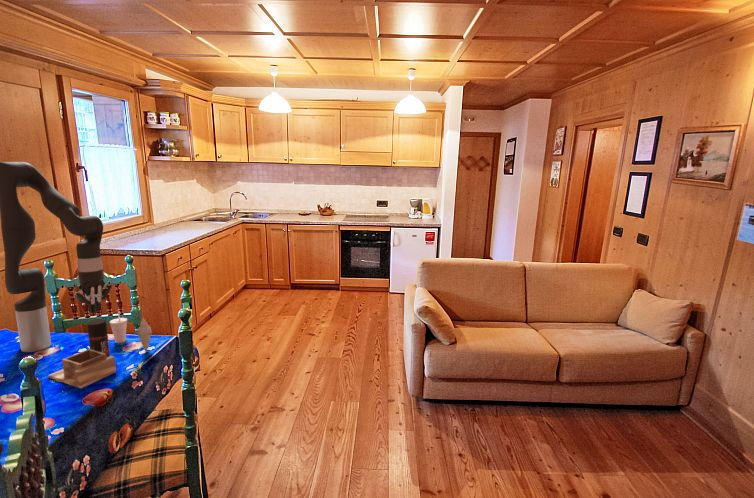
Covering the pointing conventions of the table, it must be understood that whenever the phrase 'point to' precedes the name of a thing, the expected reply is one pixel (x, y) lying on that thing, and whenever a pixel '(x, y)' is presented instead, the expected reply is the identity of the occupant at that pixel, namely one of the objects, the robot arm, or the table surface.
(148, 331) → the ice cream cone
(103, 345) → the deodorant
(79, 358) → the socket block
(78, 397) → the table surface
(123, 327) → the smoothie
